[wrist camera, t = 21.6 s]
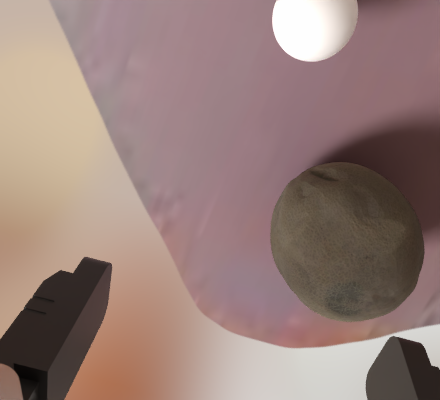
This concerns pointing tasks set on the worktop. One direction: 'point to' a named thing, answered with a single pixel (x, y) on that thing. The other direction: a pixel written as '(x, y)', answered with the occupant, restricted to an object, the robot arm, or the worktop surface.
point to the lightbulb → (314, 27)
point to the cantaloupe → (346, 242)
